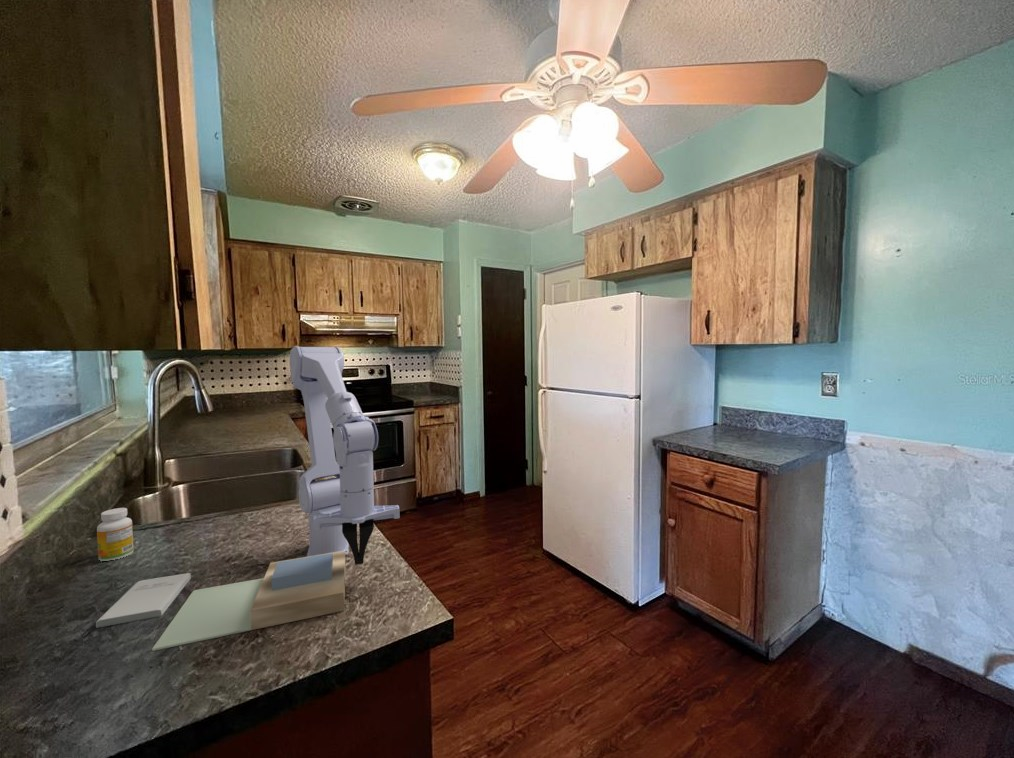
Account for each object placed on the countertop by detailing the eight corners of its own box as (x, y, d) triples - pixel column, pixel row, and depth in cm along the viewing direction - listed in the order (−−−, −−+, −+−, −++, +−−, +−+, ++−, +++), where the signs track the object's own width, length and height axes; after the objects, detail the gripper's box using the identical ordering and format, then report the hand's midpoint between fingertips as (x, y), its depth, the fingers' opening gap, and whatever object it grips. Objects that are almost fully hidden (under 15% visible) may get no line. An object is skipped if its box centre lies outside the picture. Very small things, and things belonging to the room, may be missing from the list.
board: (271, 578, 76) (270, 562, 76) (345, 565, 81) (345, 550, 81) (251, 630, 61) (250, 610, 61) (344, 610, 66) (343, 592, 66)
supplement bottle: (99, 556, 86) (97, 510, 86) (133, 548, 90) (131, 504, 90) (97, 565, 82) (94, 517, 82) (133, 556, 86) (131, 511, 86)
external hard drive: (96, 631, 62) (137, 589, 74) (161, 618, 65) (191, 580, 77) (95, 620, 62) (136, 580, 74) (161, 608, 65) (191, 571, 77)
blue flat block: (278, 573, 72) (277, 562, 72) (333, 563, 75) (332, 553, 75) (271, 590, 67) (271, 578, 67) (331, 579, 70) (331, 568, 70)
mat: (193, 591, 72) (193, 590, 72) (271, 578, 76) (270, 576, 76) (152, 651, 57) (152, 649, 57) (251, 630, 61) (251, 628, 61)
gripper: (310, 499, 67) (313, 580, 68) (400, 489, 72) (402, 564, 73) (314, 488, 74) (316, 561, 74) (396, 478, 79) (398, 547, 80)
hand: (359, 561), depth 74 cm, fingers closed
